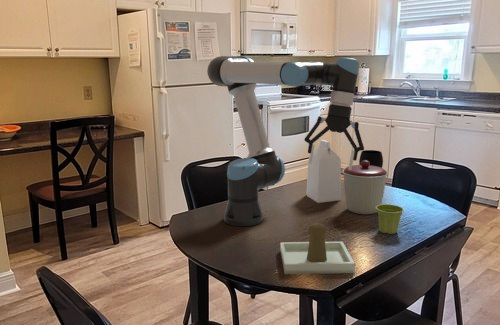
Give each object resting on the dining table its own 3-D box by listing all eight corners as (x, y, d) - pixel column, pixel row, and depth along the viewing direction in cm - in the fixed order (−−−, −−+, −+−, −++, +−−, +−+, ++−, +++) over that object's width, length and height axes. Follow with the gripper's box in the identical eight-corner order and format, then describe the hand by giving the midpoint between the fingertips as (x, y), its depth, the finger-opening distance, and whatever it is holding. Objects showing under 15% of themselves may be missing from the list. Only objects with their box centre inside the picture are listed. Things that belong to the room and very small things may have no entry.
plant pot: (390, 225, 162) (391, 202, 161) (407, 233, 154) (409, 210, 152) (369, 228, 159) (370, 205, 157) (386, 237, 151) (387, 213, 149)
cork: (326, 264, 129) (327, 228, 126) (306, 262, 130) (306, 227, 128) (327, 255, 135) (328, 221, 132) (307, 254, 136) (307, 220, 133)
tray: (284, 274, 125) (284, 264, 124) (280, 251, 141) (280, 242, 140) (354, 273, 125) (354, 263, 124) (342, 250, 141) (342, 241, 140)
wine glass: (377, 191, 207) (379, 149, 202) (384, 197, 197) (386, 153, 192) (355, 191, 206) (356, 149, 202) (361, 197, 196) (363, 154, 192)
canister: (395, 214, 174) (399, 162, 169) (357, 220, 167) (360, 167, 163) (367, 201, 190) (370, 154, 186) (332, 207, 184) (333, 158, 179)
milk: (306, 195, 201) (307, 139, 196) (328, 192, 205) (330, 138, 199) (317, 202, 190) (319, 143, 185) (341, 200, 193) (343, 142, 188)
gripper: (376, 110, 149) (365, 170, 153) (304, 99, 152) (294, 158, 156) (380, 110, 142) (367, 174, 146) (303, 99, 145) (293, 161, 148)
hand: (329, 166), depth 151 cm, fingers open, 13 cm apart
